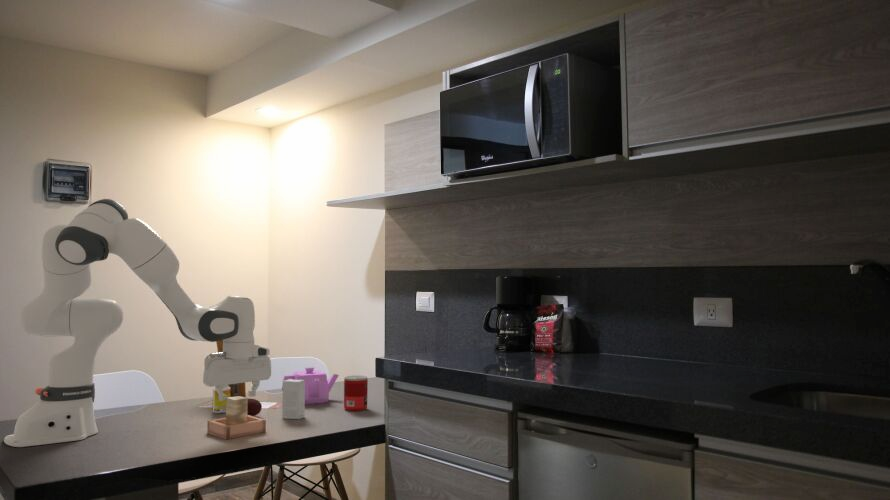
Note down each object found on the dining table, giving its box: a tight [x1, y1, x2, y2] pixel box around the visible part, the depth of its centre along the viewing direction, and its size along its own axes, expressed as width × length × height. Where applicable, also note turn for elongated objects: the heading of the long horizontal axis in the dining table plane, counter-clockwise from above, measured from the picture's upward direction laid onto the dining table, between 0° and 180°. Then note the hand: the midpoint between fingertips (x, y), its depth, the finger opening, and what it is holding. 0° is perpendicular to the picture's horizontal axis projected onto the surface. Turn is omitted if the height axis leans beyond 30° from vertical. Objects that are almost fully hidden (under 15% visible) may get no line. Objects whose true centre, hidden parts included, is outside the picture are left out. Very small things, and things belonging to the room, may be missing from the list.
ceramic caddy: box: [206, 415, 267, 440], centre depth 188 cm, size 12×11×4 cm
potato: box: [247, 398, 263, 417], centre depth 209 cm, size 7×8×6 cm
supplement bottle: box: [212, 385, 230, 414], centre depth 218 cm, size 6×6×10 cm
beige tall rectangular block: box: [225, 396, 249, 425], centre depth 188 cm, size 4×5×9 cm
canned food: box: [343, 375, 369, 412], centre depth 223 cm, size 8×8×11 cm
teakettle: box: [281, 366, 339, 405], centre depth 239 cm, size 17×17×12 cm
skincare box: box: [281, 379, 306, 420], centre depth 209 cm, size 6×4×12 cm
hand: (237, 398), depth 189 cm, fingers open, 8 cm apart
